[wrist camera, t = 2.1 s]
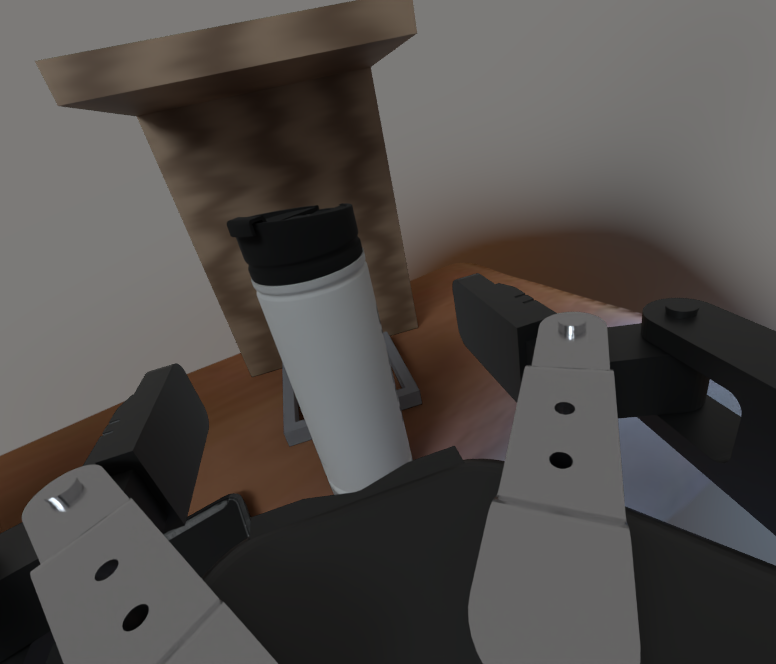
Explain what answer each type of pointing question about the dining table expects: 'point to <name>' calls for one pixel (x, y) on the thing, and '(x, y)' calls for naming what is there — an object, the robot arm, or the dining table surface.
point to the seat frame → (298, 429)
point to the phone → (203, 539)
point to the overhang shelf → (262, 138)
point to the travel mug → (328, 337)
